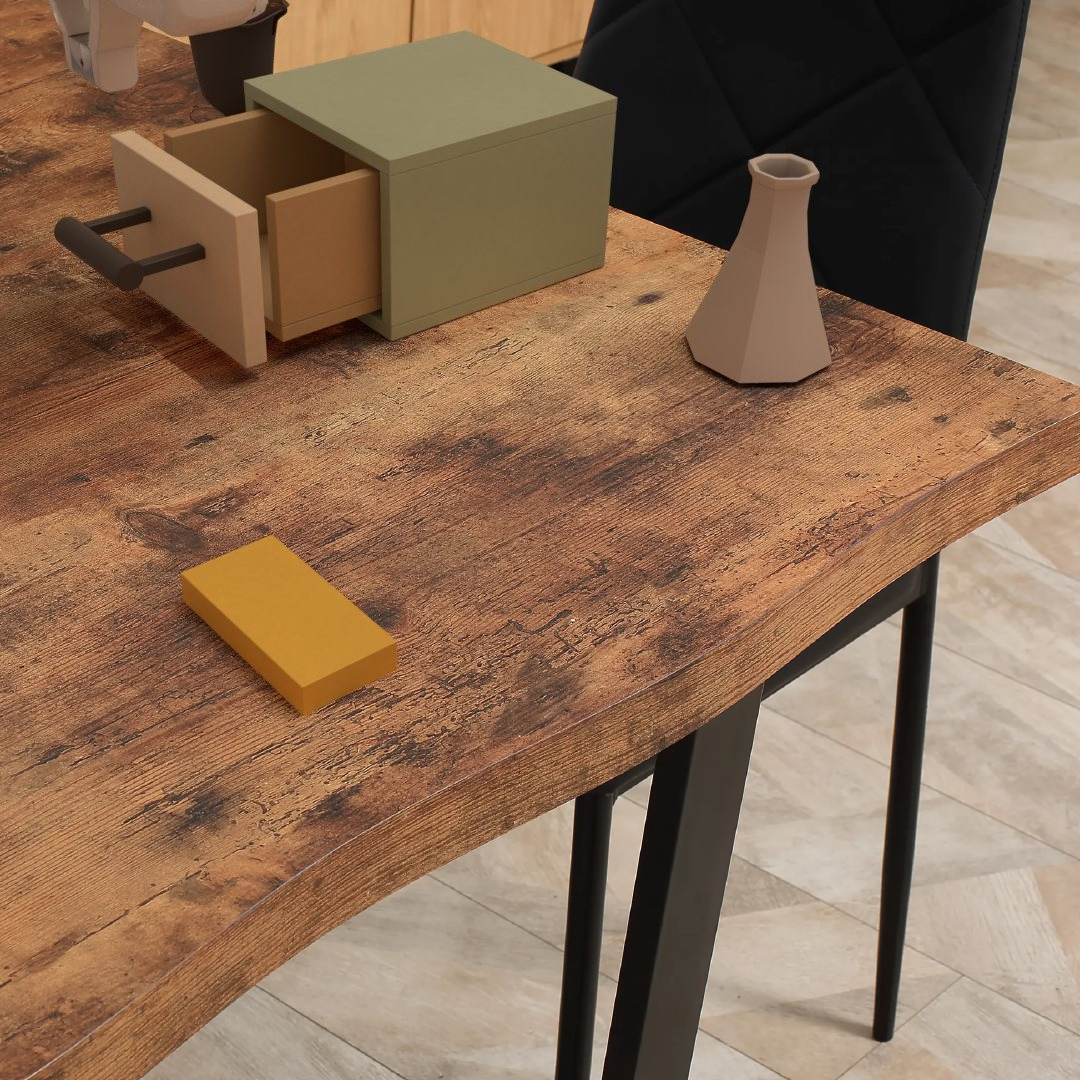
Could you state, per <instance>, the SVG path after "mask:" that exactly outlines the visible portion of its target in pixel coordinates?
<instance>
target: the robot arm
mask: <svg viewBox="0 0 1080 1080" xmlns="http://www.w3.org/2000/svg"><path fill="white" fill-rule="evenodd" d="M47 2H48V4H49V7H50V9H51V11H52V14H53V16H54V18H55V21H56V23H57V26H58V28H59V30H60V32H61V34H62V40H63V48H64V54H65V61H66V66H67V68H68V70H69V71H71V72H73V73H74V74H75V75H77V76H78V77H80V78H82V79H83V80H85V81H87V82H89V83H91V84H92V85H93V86H95V87H97V88H98V89H100V90H102V92H103V91H104V92H106V93H108V94H111V93H114V92H115V93H116V92H119V91H125V90H130V89H132V88H133V87H135V86H136V84H137V83H138V81H139V66H138V58H137V48H136V45H138V41H139V38H140V35H141V33H142V30H143V29H142V28H143V25H144V23H147V24H149V25H150V26H152V27H154V28H156V29H158V30H159V31H161V32H163V33H164V34H166V35H168V36H171V37H174V38H175V37H176V38H185V37H188V36H192V35H197V34H203V33H208V32H214V31H218V30H222V29H227V28H231V27H236V26H239V25H242V24H244V23H245V22H247V20H248V19H249V17H250V15H251V13H252V11H253V9H254V7H255V5H256V3H257V0H47Z"/></svg>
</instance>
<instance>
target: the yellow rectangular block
mask: <svg viewBox="0 0 1080 1080" xmlns="http://www.w3.org/2000/svg"><path fill="white" fill-rule="evenodd" d="M180 581H181V582H180V583H181V591H182V598H183V602H184V603H185V604H186V605H187V606H188V607H189V608H190V609H191V610H192V611H193V612H194V613H195V614H196V615H198V616H199V618H200V619H202V620H203V621H204V623H206V624H207V625H208V626H209V627H210V628H211V629H212V630H213V631H214V632H215V633H216V634H217V635H218V636H219V637H220V638H221V639H222V640H223V641H224V642H226V644H228V645H229V646H230V647H231V648H232V649H233V651H235V652H236V654H238V655H239V656H240V657H241V658H242V659H243V660H244V661H245V662H246V663H247V664H249V666H251V668H253V670H255V671H256V672H257V673H258V674H259V675H260V676H261V677H262V678H263V679H264V680H265V681H266V682H267V683H268V684H269V685H270V686H271V687H272V688H273V689H274V690H275V691H276V692H278V693H279V694H280V695H281V696H282V697H283V698H284V699H285V700H286V701H287V702H288V703H289V704H290V705H291V706H292V707H293V708H294V709H295V710H296V711H298V713H299V714H300V715H302V717H303V716H304V717H305V716H307V715H310V714H311V713H313V712H315V711H317V710H319V709H322V708H323V707H325V706H327V705H329V704H331V703H333V702H335V701H337V700H339V699H341V698H343V697H345V696H347V695H349V694H351V693H353V692H355V691H356V690H357V691H358V690H359V689H361V688H363V687H365V686H367V685H369V684H371V683H373V682H375V681H377V680H379V679H381V678H383V677H385V676H387V675H389V674H391V673H393V672H395V671H397V670H398V641H397V640H396V639H395V638H394V637H393V636H391V634H390V633H388V632H387V631H386V630H384V628H382V627H381V626H380V625H378V624H377V622H375V621H374V620H373V619H371V617H369V616H368V615H367V614H366V613H365V612H363V611H362V610H361V609H360V608H359V607H358V606H356V605H355V604H354V603H353V602H352V601H351V600H349V599H348V598H347V597H346V596H345V595H344V594H342V593H341V592H340V591H339V590H338V589H336V588H335V587H334V586H333V585H332V584H331V583H330V582H328V581H327V580H326V579H325V578H324V577H323V576H322V575H320V573H318V572H316V570H315V569H313V568H312V567H311V566H310V565H308V564H307V563H306V562H305V561H304V560H303V559H301V558H300V557H299V556H298V555H297V554H296V553H294V552H293V550H291V549H290V548H289V547H287V546H286V545H285V544H284V543H283V542H282V541H280V540H279V539H278V538H277V537H276V536H274V534H269V535H268V536H265V537H263V538H260V539H258V540H255V541H253V542H250V543H249V544H248V543H247V544H246V545H243V546H241V547H239V548H237V549H235V550H232V551H229V552H227V553H225V554H222V555H220V556H218V557H215V558H213V559H211V560H210V559H209V560H207V561H206V562H203V563H201V564H199V565H195V566H194V567H191V568H189V569H186V570H184V571H182V572H180Z"/></svg>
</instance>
